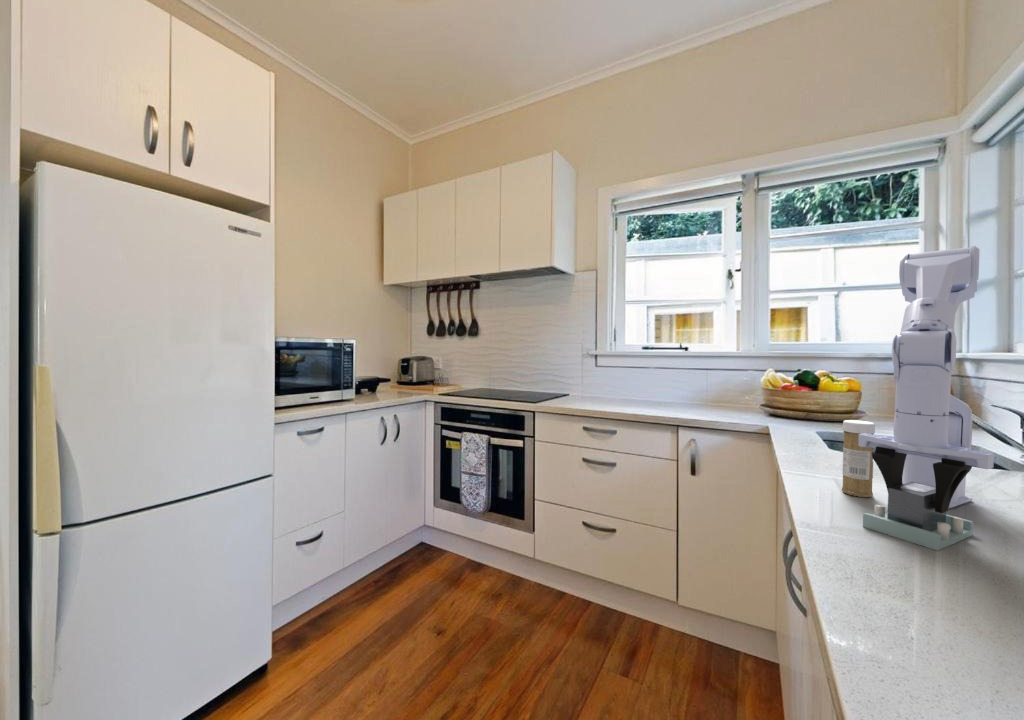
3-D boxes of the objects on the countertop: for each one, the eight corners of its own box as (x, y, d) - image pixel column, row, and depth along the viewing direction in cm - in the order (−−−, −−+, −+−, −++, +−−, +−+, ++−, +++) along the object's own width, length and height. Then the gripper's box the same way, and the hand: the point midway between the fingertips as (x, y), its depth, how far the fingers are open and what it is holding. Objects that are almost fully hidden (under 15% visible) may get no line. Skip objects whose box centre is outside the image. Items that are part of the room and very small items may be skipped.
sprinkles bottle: (876, 495, 79) (879, 422, 78) (867, 500, 76) (869, 424, 76) (846, 488, 82) (848, 418, 82) (836, 492, 80) (838, 420, 79)
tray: (899, 514, 70) (899, 497, 70) (972, 535, 62) (973, 515, 62) (862, 526, 65) (863, 508, 65) (937, 550, 57) (938, 529, 57)
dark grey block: (910, 516, 67) (912, 481, 66) (945, 526, 63) (946, 488, 63) (887, 524, 64) (888, 487, 63) (922, 535, 60) (923, 495, 60)
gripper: (849, 408, 68) (846, 493, 68) (980, 423, 55) (975, 528, 55) (872, 405, 71) (869, 487, 71) (1001, 419, 58) (997, 519, 58)
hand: (917, 505), depth 63 cm, fingers open, 5 cm apart
